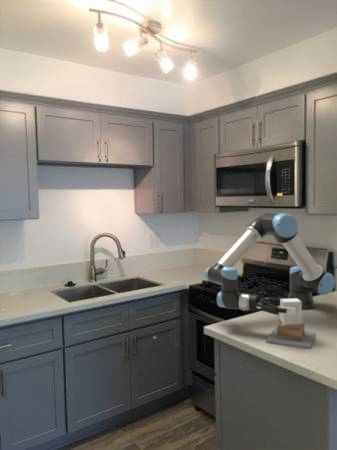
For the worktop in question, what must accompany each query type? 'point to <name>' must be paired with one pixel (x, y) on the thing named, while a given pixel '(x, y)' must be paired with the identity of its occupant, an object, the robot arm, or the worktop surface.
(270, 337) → the base board
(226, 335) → the worktop surface
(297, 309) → the small box
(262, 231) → the robot arm
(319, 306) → the worktop surface
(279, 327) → the walnut plinth
